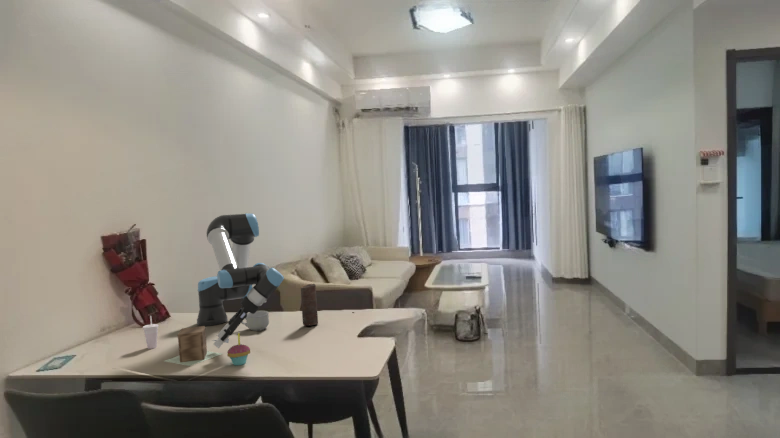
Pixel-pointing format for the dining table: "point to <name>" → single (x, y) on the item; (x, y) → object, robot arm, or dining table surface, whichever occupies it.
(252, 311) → the robot arm
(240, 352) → the cupcake
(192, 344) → the walnut cover
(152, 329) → the smoothie
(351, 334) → the dining table surface
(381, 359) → the dining table surface
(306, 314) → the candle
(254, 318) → the teacup
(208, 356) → the green board
